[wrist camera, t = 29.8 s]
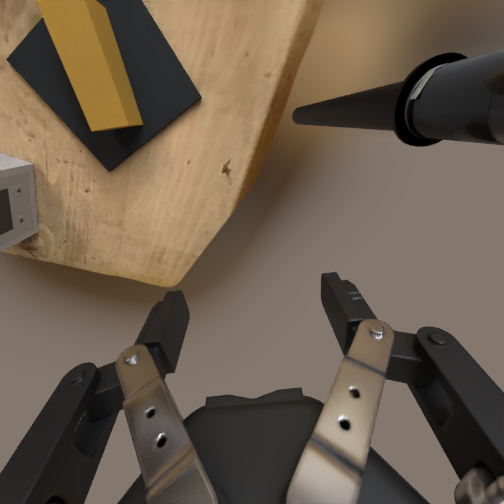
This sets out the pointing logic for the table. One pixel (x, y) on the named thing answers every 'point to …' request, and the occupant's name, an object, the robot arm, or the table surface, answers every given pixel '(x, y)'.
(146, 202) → the table surface
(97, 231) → the table surface
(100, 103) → the post
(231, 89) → the table surface
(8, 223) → the grey pipe housing
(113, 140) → the mat
